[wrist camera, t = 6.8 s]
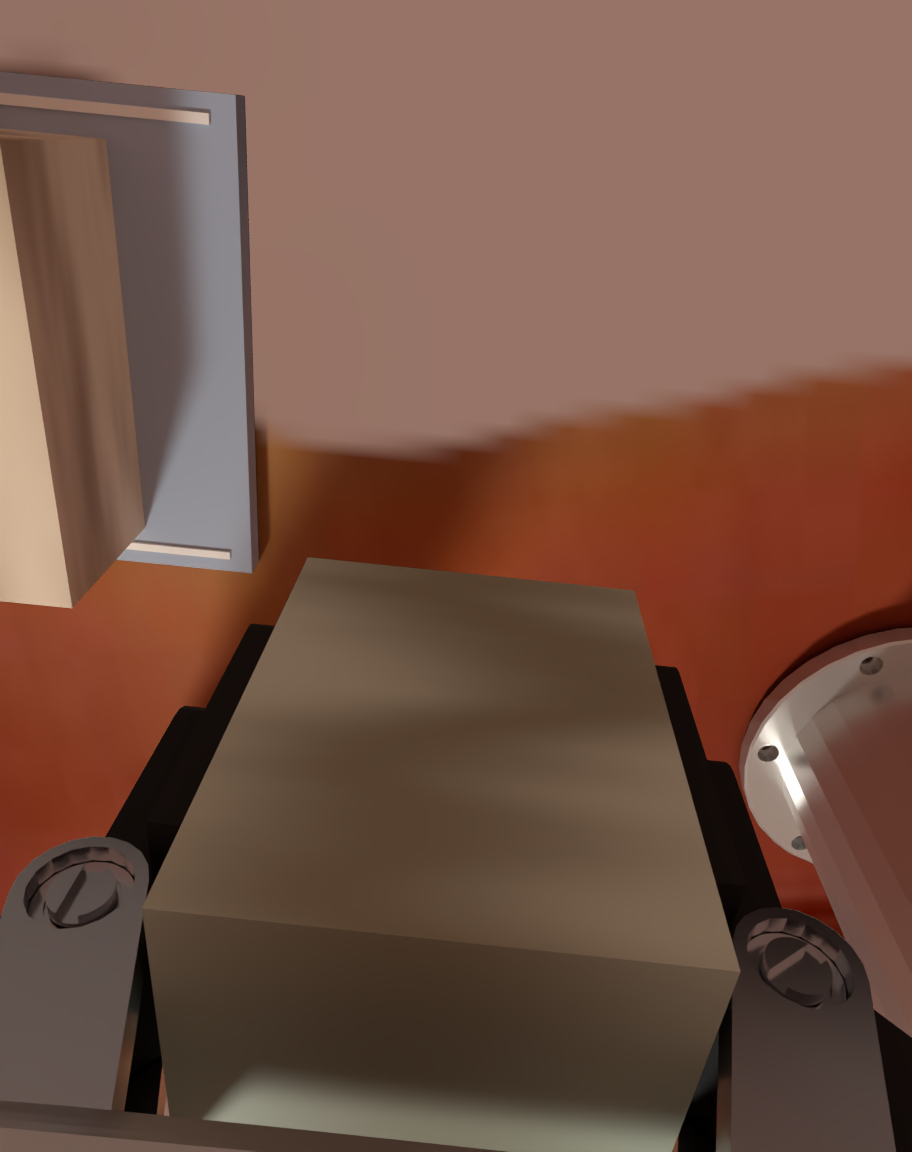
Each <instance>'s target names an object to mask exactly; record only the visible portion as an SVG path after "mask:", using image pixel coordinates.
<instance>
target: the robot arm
mask: <svg viewBox="0 0 912 1152" xmlns="http://www.w3.org/2000/svg"><path fill="white" fill-rule="evenodd" d="M274 628H275V626H269V625H260V624H250V626H249V627H248V629H247V631H246V633H245V635H244V636H243V638H242V640H241V642H240V644H239V646H238V648H237V650H236V652H235V654H234V655H233V657H232V659H231V661H230V663H229V665H228V667H227V669H226V671H225V673H224V675H223V676H222V678H221V680H220V682H219V684H218V686H217V688H216V690H215V692H214V694H213V695H212V697H211V699H210V701H209V703H208V705H207V707H206V708H200V707H190V706H184V707H182V708H180V709H179V711H178V712H177V713H176V715H175V716H174V718H173V720H172V721H171V723H170V725H169V727H168V728H167V730H166V732H165V734H164V735H163V737H162V739H161V741H160V742H159V744H158V746H157V748H156V749H155V751H154V753H153V755H152V756H151V758H150V760H149V762H148V763H147V765H146V767H145V769H144V770H143V772H142V774H141V776H140V777H139V779H138V781H137V783H136V784H135V786H134V788H133V790H132V791H131V793H130V795H129V797H128V798H127V800H126V802H125V804H124V805H123V807H122V809H121V811H120V812H119V814H118V816H117V818H116V819H115V821H114V823H113V825H112V826H111V828H110V830H109V832H108V833H107V835H106V837H88V838H82V839H77V840H71V841H69V842H66V843H64V844H61V845H59V846H56V847H54V848H51V849H50V850H48V851H46V852H45V853H43V854H42V855H40V856H39V857H37V858H36V859H34V860H33V861H32V862H31V863H30V864H29V865H28V866H27V867H26V868H25V869H24V870H23V871H22V872H21V873H20V874H19V875H18V877H17V878H16V880H15V882H14V884H13V886H12V888H11V890H10V891H9V894H8V897H7V900H6V903H5V906H4V909H3V912H2V915H1V916H0V1152H506V1151H497V1150H488V1149H479V1148H469V1147H460V1146H451V1145H442V1144H432V1143H423V1142H414V1141H404V1140H395V1139H385V1138H376V1137H367V1136H357V1135H348V1134H338V1133H329V1132H320V1131H310V1130H301V1129H291V1128H282V1127H272V1126H262V1125H252V1124H242V1123H232V1122H222V1121H213V1120H203V1119H193V1118H183V1117H173V1116H164V1111H165V1102H166V1086H165V1079H164V1071H163V1064H162V1056H161V1049H160V1041H159V1034H158V1026H157V1019H156V1012H155V1004H154V997H153V989H152V982H151V974H150V967H149V959H148V952H147V944H146V937H145V929H144V922H143V914H142V907H143V905H144V902H145V900H146V898H147V896H148V894H149V892H150V890H151V888H152V885H153V883H154V881H155V879H156V877H157V875H158V873H159V871H160V869H161V866H162V864H163V862H164V860H165V858H166V856H167V854H168V852H169V850H170V847H171V845H172V843H173V841H174V839H175V837H176V835H177V833H178V831H179V828H180V826H181V824H182V822H183V820H184V818H185V816H186V814H187V811H188V809H189V807H190V805H191V803H192V801H193V799H194V797H195V795H196V792H197V790H198V788H199V786H200V784H201V782H202V780H203V778H204V776H205V773H206V771H207V769H208V767H209V765H210V763H211V761H212V759H213V757H214V754H215V752H216V750H217V748H218V746H219V744H220V742H221V740H222V738H223V735H224V733H225V731H226V729H227V727H228V725H229V723H230V721H231V718H232V716H233V714H234V712H235V710H236V708H237V706H238V704H239V702H240V699H241V697H242V695H243V693H244V691H245V689H246V687H247V685H248V683H249V680H250V678H251V676H252V674H253V672H254V670H255V668H256V666H257V664H258V661H259V659H260V657H261V655H262V653H263V651H264V649H265V647H266V644H267V642H268V640H269V638H270V636H271V634H272V632H273V630H274ZM655 667H656V671H657V675H658V678H659V682H660V685H661V689H662V692H663V696H664V700H665V703H666V707H667V710H668V714H669V717H670V721H671V725H672V728H673V732H674V735H675V739H676V743H677V746H678V750H679V753H680V757H681V760H682V764H683V768H684V771H685V775H686V778H687V782H688V785H689V789H690V793H691V796H692V800H693V803H694V807H695V810H696V814H697V818H698V821H699V825H700V828H701V832H702V836H703V839H704V843H705V846H706V850H707V853H708V857H709V861H710V864H711V868H712V871H713V875H714V878H715V882H716V886H717V889H718V893H719V896H720V900H721V903H722V907H723V911H724V914H725V918H726V921H727V925H728V928H729V932H730V936H731V939H732V943H733V946H734V950H735V954H736V957H737V961H738V964H739V968H740V971H741V972H740V975H739V977H738V980H737V982H736V985H735V988H734V990H733V993H732V996H731V998H730V1001H729V1003H728V1006H727V1009H726V1011H725V1014H724V1016H723V1019H722V1022H721V1024H720V1027H719V1030H718V1032H717V1035H716V1037H715V1040H714V1043H713V1045H712V1048H711V1051H710V1053H709V1056H708V1058H707V1061H706V1064H705V1066H704V1069H703V1071H702V1074H701V1077H700V1079H699V1082H698V1085H697V1087H696V1090H695V1092H694V1095H693V1098H692V1100H691V1103H690V1106H689V1108H688V1111H687V1113H686V1116H685V1119H684V1121H683V1124H682V1126H681V1129H680V1132H679V1134H678V1137H677V1140H676V1142H675V1145H674V1147H673V1150H672V1152H912V628H897V629H893V630H888V631H883V632H878V633H874V634H869V635H865V636H862V637H859V638H857V639H854V640H851V641H848V642H846V643H843V644H840V645H838V646H835V647H833V648H831V649H829V650H828V651H826V652H824V653H822V654H820V655H818V656H816V657H815V658H813V659H811V660H809V661H807V662H806V663H805V664H803V665H802V666H801V667H799V668H798V669H797V670H795V671H794V672H793V673H791V674H790V675H789V676H787V677H786V678H785V679H784V680H783V681H782V682H781V683H780V684H779V685H778V686H777V687H776V688H775V689H774V690H773V691H772V692H771V693H770V694H769V695H768V696H767V698H766V699H765V700H764V701H763V703H762V704H761V706H760V707H759V709H758V710H757V712H756V714H755V715H754V717H753V718H752V720H751V721H750V724H749V726H748V729H747V732H746V734H745V737H744V739H743V742H742V747H741V755H740V762H739V768H740V777H741V785H742V788H743V791H744V793H745V796H746V799H747V802H748V805H749V808H750V810H751V812H752V814H753V816H754V817H755V819H756V821H757V823H758V824H759V826H760V827H761V828H762V829H763V831H764V832H765V833H766V834H767V835H768V836H769V837H770V838H771V839H772V840H773V841H774V842H775V843H776V844H778V845H779V846H781V847H782V848H783V849H785V850H786V851H787V852H789V853H791V854H793V855H795V856H797V857H799V858H802V859H804V860H806V861H808V862H811V863H813V864H814V866H815V868H816V871H817V873H818V876H819V878H820V880H821V883H822V885H823V887H824V890H825V892H826V894H827V897H828V899H829V902H830V904H831V906H832V909H833V911H834V913H835V916H836V918H837V920H838V923H839V925H840V927H841V930H842V932H843V935H844V937H845V939H846V941H845V940H844V939H843V938H842V937H841V936H840V935H839V934H838V933H837V932H836V931H835V930H833V929H832V928H830V927H828V926H827V925H825V924H824V923H822V922H821V921H819V920H818V919H816V918H814V917H811V916H809V915H806V914H804V913H801V912H799V911H796V910H790V909H785V908H782V907H781V904H780V901H779V899H778V896H777V893H776V890H775V887H774V885H773V882H772V879H771V876H770V873H769V870H768V868H767V865H766V862H765V859H764V856H763V854H762V851H761V848H760V845H759V842H758V840H757V837H756V834H755V831H754V828H753V825H752V823H751V820H750V817H749V814H748V811H747V809H746V806H745V803H744V800H743V797H742V794H741V792H740V789H739V786H738V783H737V780H736V778H735V775H734V772H733V770H732V768H731V766H730V765H729V764H727V763H726V762H720V761H710V760H707V758H706V755H705V752H704V749H703V746H702V743H701V740H700V737H699V733H698V730H697V727H696V724H695V721H694V718H693V715H692V712H691V708H690V705H689V702H688V699H687V696H686V693H685V690H684V686H683V683H682V680H681V677H680V674H679V671H678V669H677V668H675V667H667V666H658V665H655ZM873 1005H874V1008H875V1010H876V1011H875V1010H874V1008H873Z"/></svg>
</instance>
